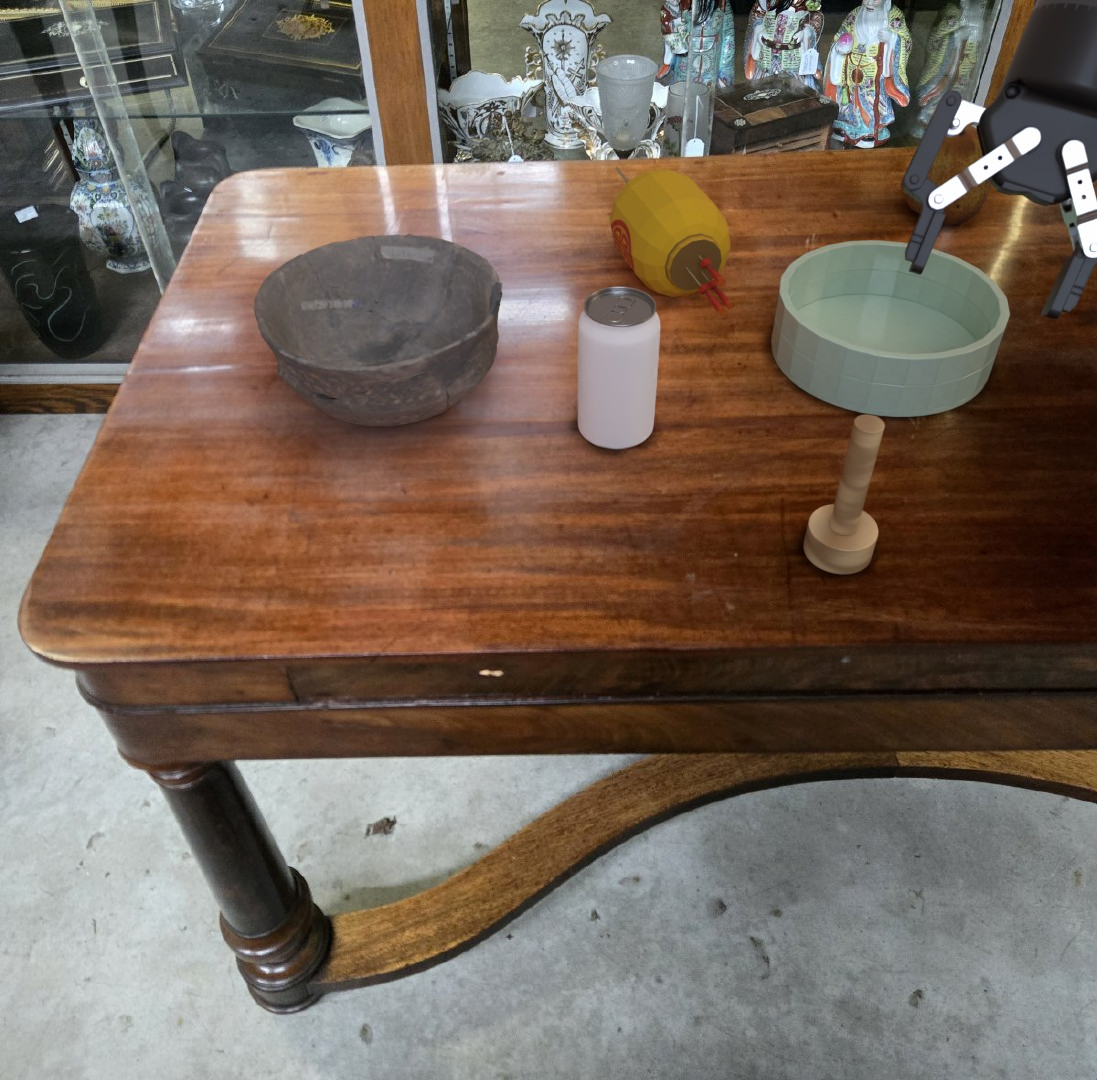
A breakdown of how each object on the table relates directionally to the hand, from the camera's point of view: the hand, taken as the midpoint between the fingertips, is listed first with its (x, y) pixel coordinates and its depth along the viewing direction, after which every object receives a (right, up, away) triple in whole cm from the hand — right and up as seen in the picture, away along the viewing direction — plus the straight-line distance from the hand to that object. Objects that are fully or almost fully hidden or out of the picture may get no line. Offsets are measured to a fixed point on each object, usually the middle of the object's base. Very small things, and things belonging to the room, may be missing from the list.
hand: (981, 294), depth 65 cm
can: (-21, -6, +24) cm, 32 cm away
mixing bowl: (+3, +2, +31) cm, 31 cm away
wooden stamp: (-6, -16, +13) cm, 21 cm away
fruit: (+16, +20, +50) cm, 56 cm away
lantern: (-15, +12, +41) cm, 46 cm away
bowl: (-41, -2, +28) cm, 50 cm away
